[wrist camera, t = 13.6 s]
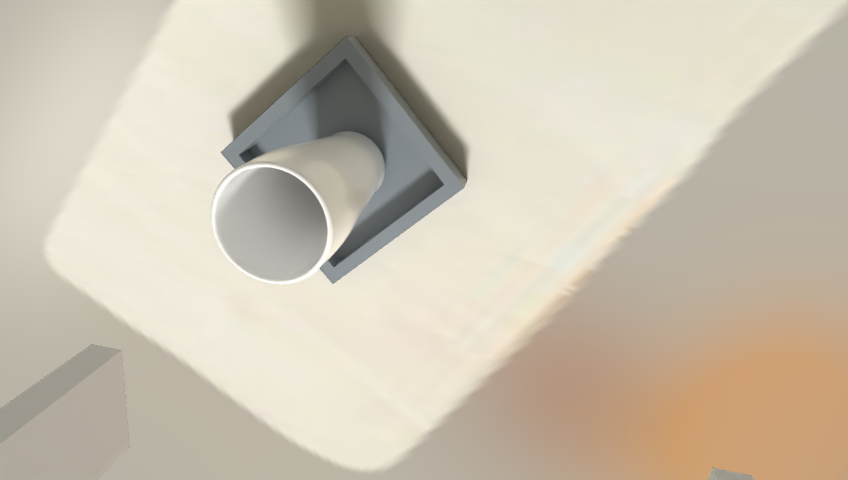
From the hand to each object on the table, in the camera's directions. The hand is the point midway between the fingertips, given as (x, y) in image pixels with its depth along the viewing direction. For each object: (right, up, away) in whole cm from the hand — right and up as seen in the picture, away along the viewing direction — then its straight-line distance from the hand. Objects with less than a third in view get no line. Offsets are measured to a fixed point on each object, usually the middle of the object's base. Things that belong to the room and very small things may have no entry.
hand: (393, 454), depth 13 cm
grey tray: (-5, +11, +31) cm, 33 cm away
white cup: (-5, +10, +31) cm, 33 cm away
